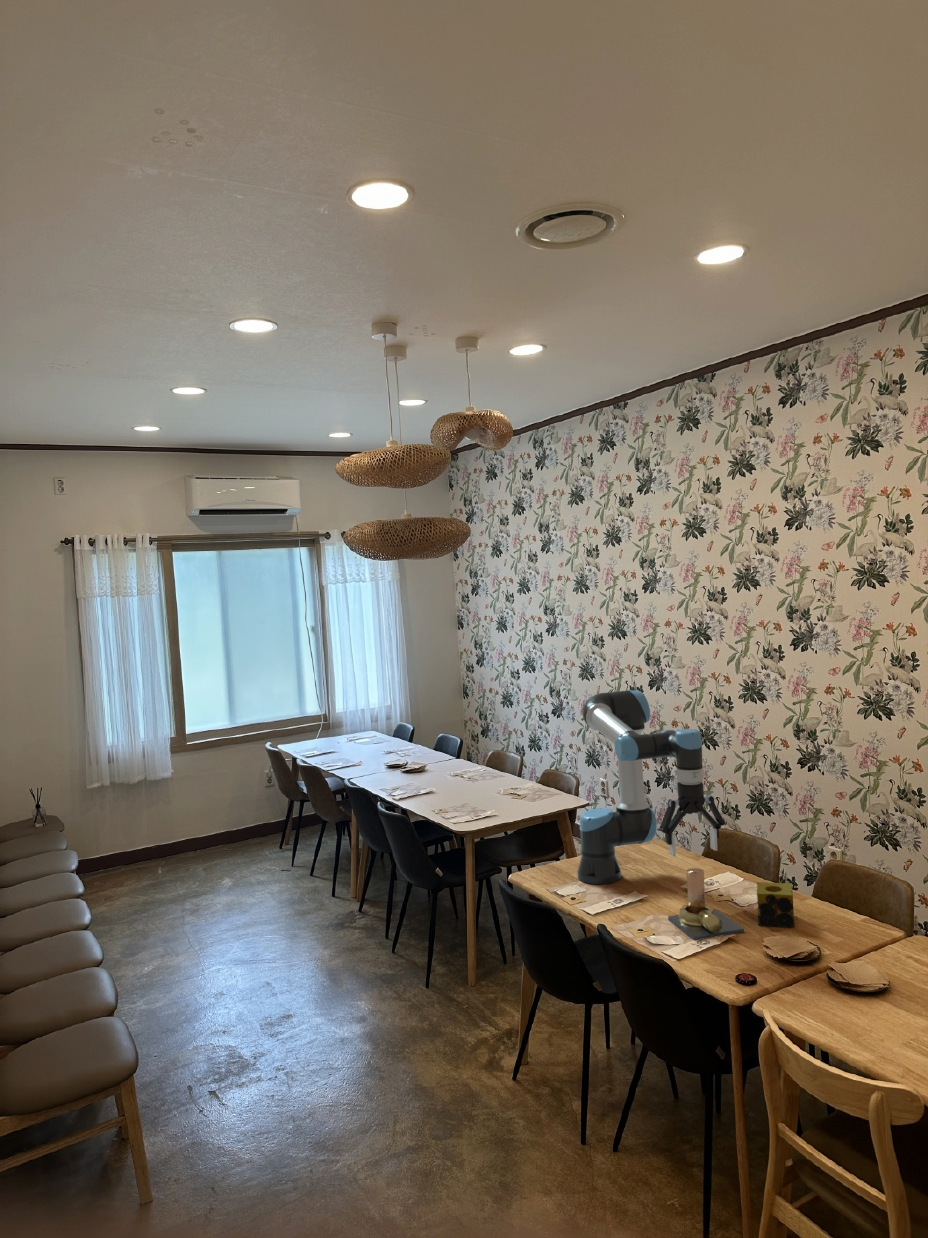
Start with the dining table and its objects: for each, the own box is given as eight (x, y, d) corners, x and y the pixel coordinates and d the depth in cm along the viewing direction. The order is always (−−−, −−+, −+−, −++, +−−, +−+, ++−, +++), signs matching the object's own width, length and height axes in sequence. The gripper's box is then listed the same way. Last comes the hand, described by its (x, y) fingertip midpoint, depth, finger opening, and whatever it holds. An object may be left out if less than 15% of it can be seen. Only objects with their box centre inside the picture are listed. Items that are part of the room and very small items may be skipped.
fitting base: (667, 919, 257) (666, 901, 257) (715, 911, 261) (714, 894, 260) (693, 940, 241) (692, 921, 241) (744, 932, 245) (743, 913, 244)
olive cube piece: (793, 916, 254) (792, 883, 254) (795, 929, 245) (793, 895, 245) (758, 913, 258) (756, 881, 257) (758, 926, 248) (756, 892, 248)
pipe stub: (685, 915, 255) (683, 869, 255) (700, 913, 256) (698, 867, 256) (693, 921, 250) (691, 874, 250) (709, 919, 251) (706, 872, 251)
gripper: (657, 789, 246) (660, 861, 246) (734, 780, 251) (737, 850, 252) (646, 783, 253) (649, 853, 254) (721, 775, 258) (724, 843, 259)
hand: (693, 852), depth 253 cm, fingers open, 13 cm apart
